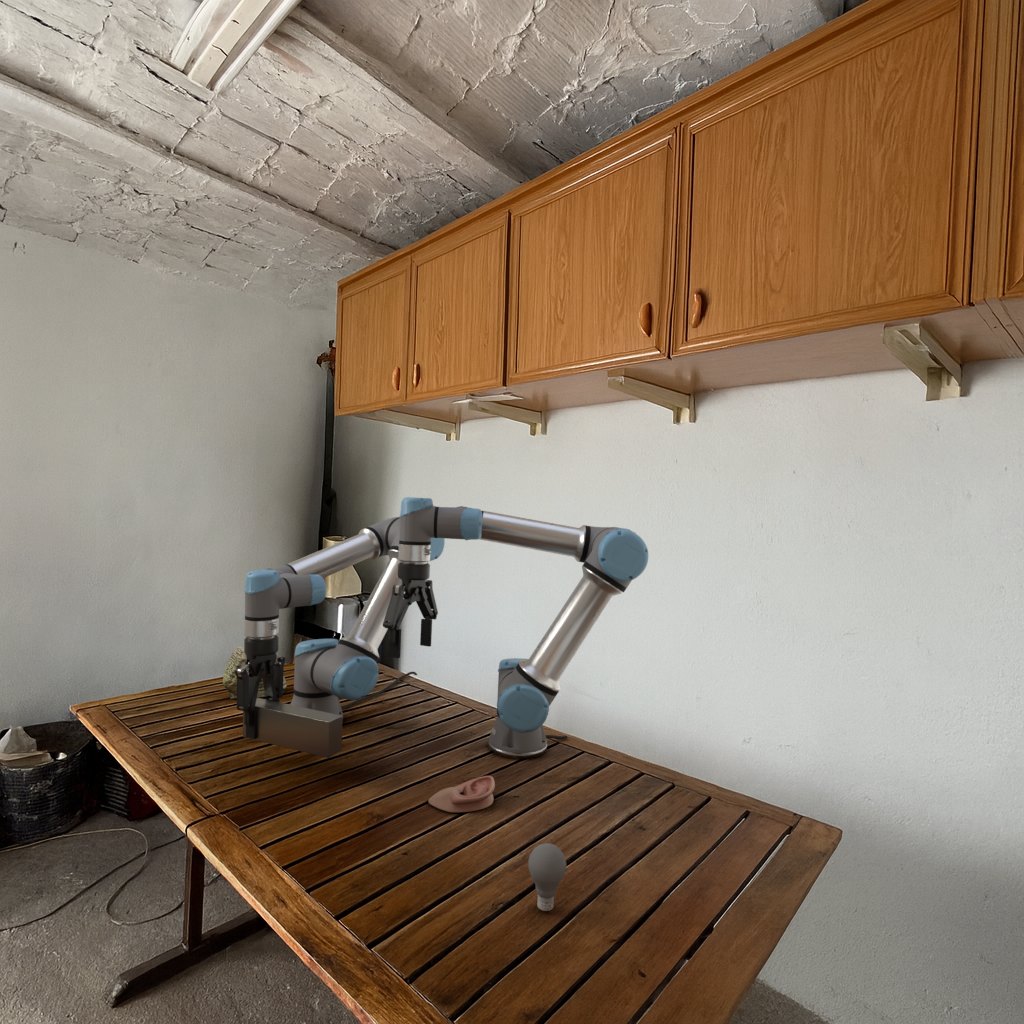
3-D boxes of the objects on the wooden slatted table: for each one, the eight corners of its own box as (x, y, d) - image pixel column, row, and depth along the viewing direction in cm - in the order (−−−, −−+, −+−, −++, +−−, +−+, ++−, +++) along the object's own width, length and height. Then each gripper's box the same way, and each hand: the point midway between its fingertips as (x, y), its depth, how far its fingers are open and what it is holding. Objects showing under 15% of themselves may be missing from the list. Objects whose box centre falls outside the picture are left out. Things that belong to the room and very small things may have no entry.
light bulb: (524, 896, 103) (527, 835, 103) (560, 896, 103) (563, 835, 103) (528, 921, 97) (531, 856, 97) (567, 920, 97) (570, 856, 97)
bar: (242, 737, 149) (243, 703, 149) (257, 730, 153) (258, 697, 153) (328, 758, 139) (329, 722, 139) (341, 750, 143) (342, 715, 143)
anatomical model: (423, 789, 130) (441, 766, 141) (423, 808, 130) (440, 784, 141) (486, 798, 127) (499, 774, 139) (485, 817, 128) (498, 792, 139)
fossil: (218, 695, 195) (220, 647, 195) (278, 685, 208) (279, 640, 207) (228, 703, 189) (230, 653, 188) (289, 692, 201) (290, 645, 201)
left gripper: (243, 646, 140) (242, 750, 140) (300, 630, 156) (298, 724, 157) (219, 642, 143) (217, 744, 143) (277, 627, 159) (275, 719, 160)
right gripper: (397, 567, 137) (393, 665, 138) (453, 559, 160) (450, 643, 161) (369, 564, 140) (365, 660, 141) (428, 557, 163) (424, 639, 164)
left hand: (260, 733), depth 150 cm, fingers closed on bar, 5 cm apart
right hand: (410, 651), depth 151 cm, fingers open, 13 cm apart
